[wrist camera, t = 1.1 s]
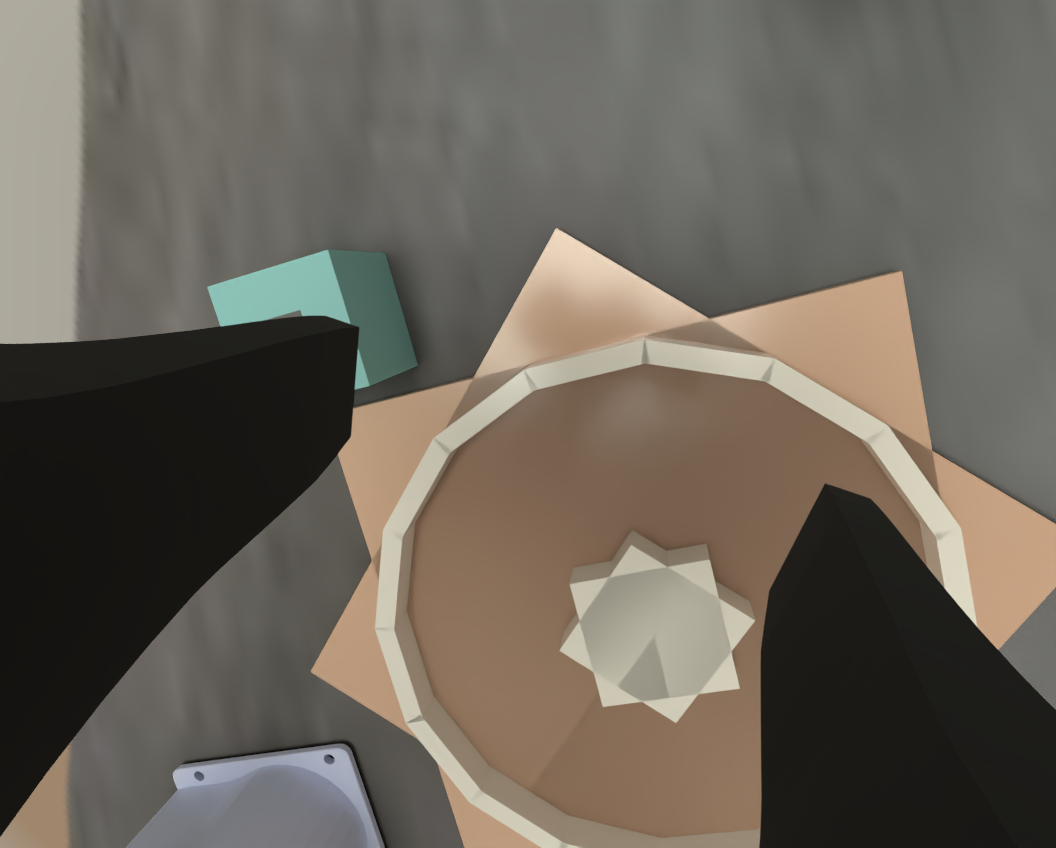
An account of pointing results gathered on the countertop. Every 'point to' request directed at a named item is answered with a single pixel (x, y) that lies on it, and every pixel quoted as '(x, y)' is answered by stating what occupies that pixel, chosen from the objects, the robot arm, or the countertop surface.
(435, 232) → the countertop surface
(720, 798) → the ring tray
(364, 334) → the bead
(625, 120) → the countertop surface
